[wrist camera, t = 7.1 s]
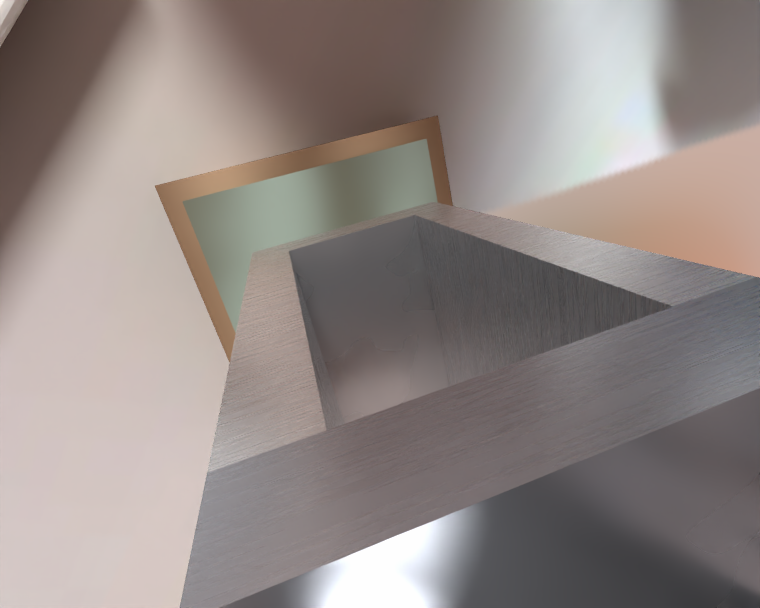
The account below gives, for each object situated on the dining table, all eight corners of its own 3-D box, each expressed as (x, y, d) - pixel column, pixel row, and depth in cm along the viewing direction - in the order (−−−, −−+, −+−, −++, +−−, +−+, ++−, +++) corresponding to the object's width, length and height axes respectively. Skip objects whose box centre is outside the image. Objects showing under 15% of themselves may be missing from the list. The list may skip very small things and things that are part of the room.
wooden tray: (415, 121, 21) (440, 114, 18) (459, 360, 26) (484, 386, 23) (171, 182, 19) (152, 186, 16) (270, 425, 24) (270, 463, 21)
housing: (433, 201, 12) (931, 317, 3) (475, 435, 16) (777, 837, 6) (252, 252, 12) (174, 623, 2) (336, 488, 15) (450, 1038, 6)
